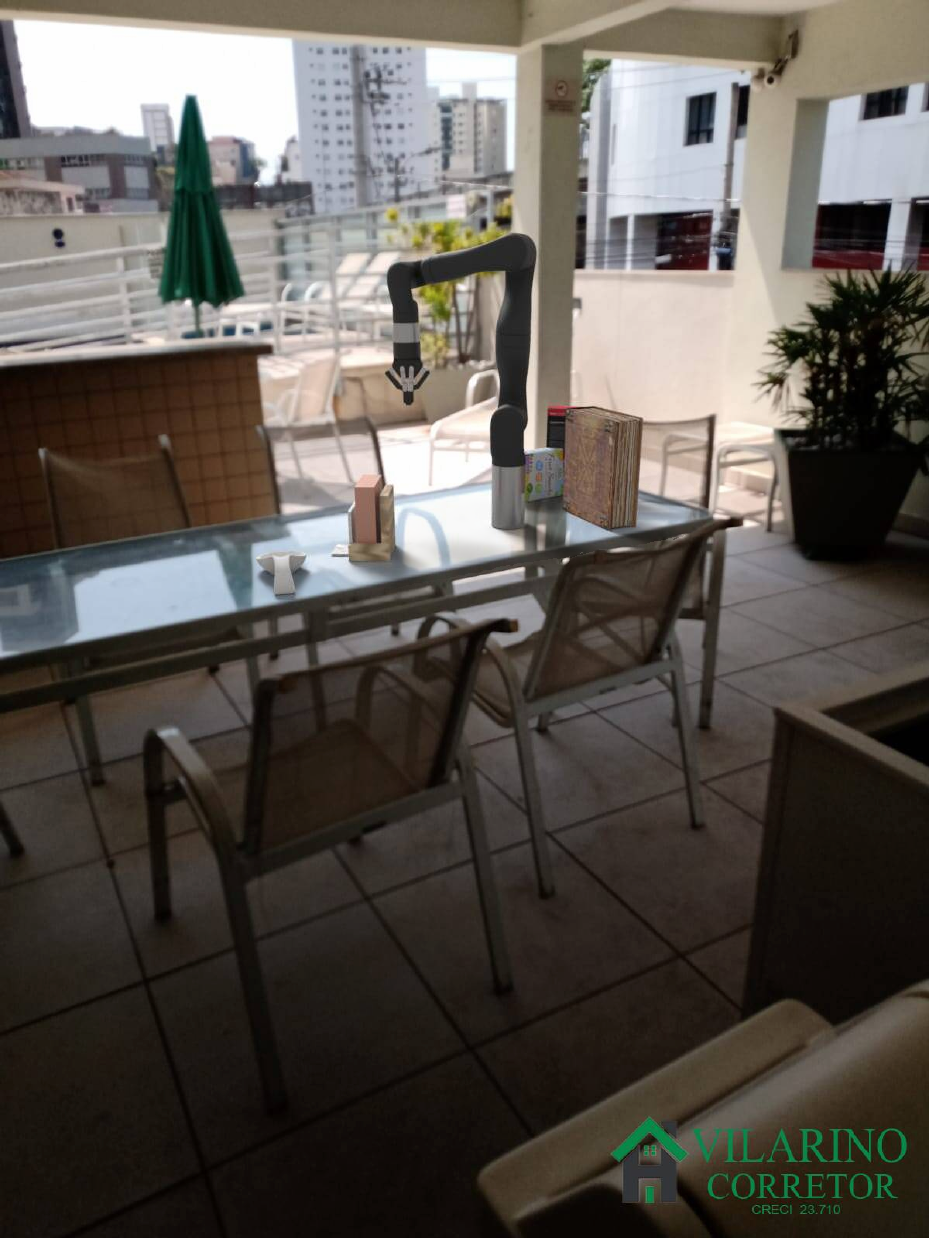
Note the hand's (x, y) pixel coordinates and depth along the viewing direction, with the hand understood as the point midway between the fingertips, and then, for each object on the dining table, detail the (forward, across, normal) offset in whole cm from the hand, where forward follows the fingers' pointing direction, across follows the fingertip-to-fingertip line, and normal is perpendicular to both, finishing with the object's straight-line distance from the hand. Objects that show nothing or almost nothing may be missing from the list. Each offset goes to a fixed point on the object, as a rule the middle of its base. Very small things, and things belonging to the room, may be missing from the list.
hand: (408, 405), depth 250 cm
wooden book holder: (+32, -6, -37) cm, 49 cm away
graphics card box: (+32, +48, +28) cm, 64 cm away
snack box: (+32, +36, +22) cm, 53 cm away
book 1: (+32, -7, -35) cm, 48 cm away
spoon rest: (+32, -25, -57) cm, 70 cm away
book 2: (+32, +54, -2) cm, 63 cm away
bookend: (+32, -14, -36) cm, 50 cm away
